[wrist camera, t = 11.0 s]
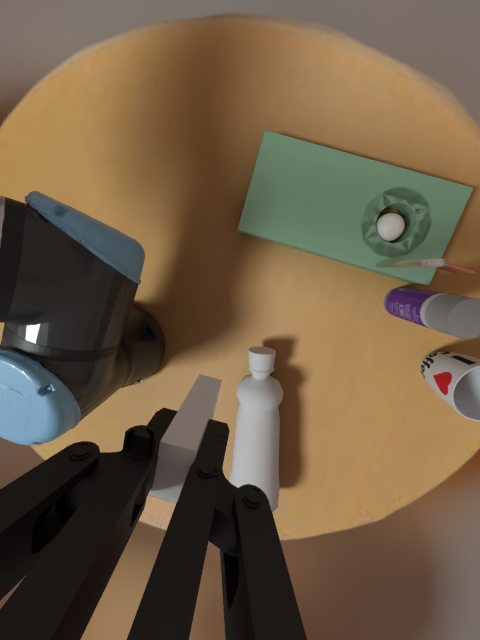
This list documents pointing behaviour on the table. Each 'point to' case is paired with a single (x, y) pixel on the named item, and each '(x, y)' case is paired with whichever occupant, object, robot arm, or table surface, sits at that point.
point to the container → (436, 311)
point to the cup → (454, 380)
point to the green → (348, 206)
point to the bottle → (258, 427)
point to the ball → (389, 226)
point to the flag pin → (426, 265)
